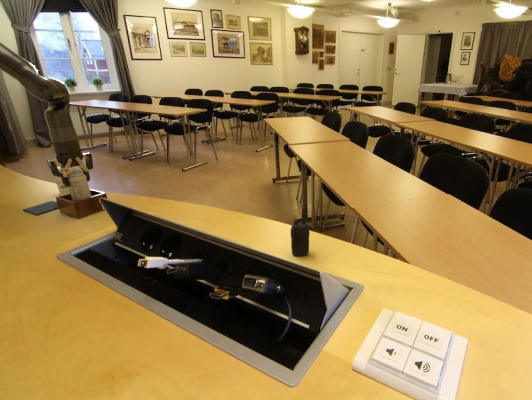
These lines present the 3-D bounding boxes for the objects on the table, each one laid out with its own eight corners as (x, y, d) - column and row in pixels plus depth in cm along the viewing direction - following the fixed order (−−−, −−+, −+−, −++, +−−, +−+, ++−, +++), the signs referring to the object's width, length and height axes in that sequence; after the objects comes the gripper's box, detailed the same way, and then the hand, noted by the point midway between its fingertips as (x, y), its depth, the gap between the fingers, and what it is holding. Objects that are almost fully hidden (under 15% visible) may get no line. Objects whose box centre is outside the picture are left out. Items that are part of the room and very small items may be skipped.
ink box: (82, 188, 146) (75, 163, 142) (84, 191, 143) (77, 166, 138) (59, 193, 141) (51, 167, 136) (60, 196, 137) (52, 169, 133)
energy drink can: (98, 207, 125) (88, 171, 120) (83, 213, 120) (71, 175, 114) (87, 205, 127) (77, 169, 122) (72, 211, 122) (60, 173, 116)
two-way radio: (308, 250, 98) (308, 205, 92) (310, 258, 94) (310, 211, 88) (290, 251, 97) (289, 206, 91) (291, 259, 93) (290, 212, 87)
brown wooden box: (78, 219, 117) (73, 203, 114) (60, 213, 121) (55, 197, 119) (109, 207, 126) (105, 192, 124) (92, 202, 131) (88, 188, 129)
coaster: (36, 215, 119) (36, 214, 119) (23, 210, 123) (22, 209, 123) (66, 206, 127) (66, 205, 127) (52, 201, 131) (52, 200, 131)
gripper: (80, 134, 121) (91, 177, 127) (35, 141, 109) (50, 188, 115) (92, 136, 118) (103, 179, 124) (47, 143, 106) (62, 191, 112)
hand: (77, 183), depth 120 cm, fingers closed on energy drink can, 6 cm apart
